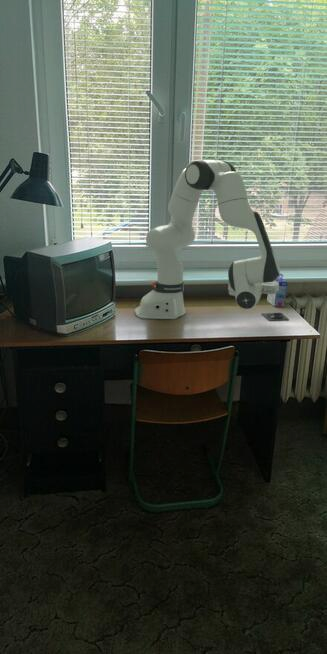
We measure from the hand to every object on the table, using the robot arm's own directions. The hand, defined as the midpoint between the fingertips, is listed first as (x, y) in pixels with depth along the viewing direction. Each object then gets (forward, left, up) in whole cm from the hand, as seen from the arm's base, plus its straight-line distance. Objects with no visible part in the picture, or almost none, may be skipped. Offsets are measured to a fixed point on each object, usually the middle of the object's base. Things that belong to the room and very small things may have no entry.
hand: (255, 280), depth 203 cm
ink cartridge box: (+20, +22, -18) cm, 35 cm away
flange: (+12, +3, -18) cm, 21 cm away
